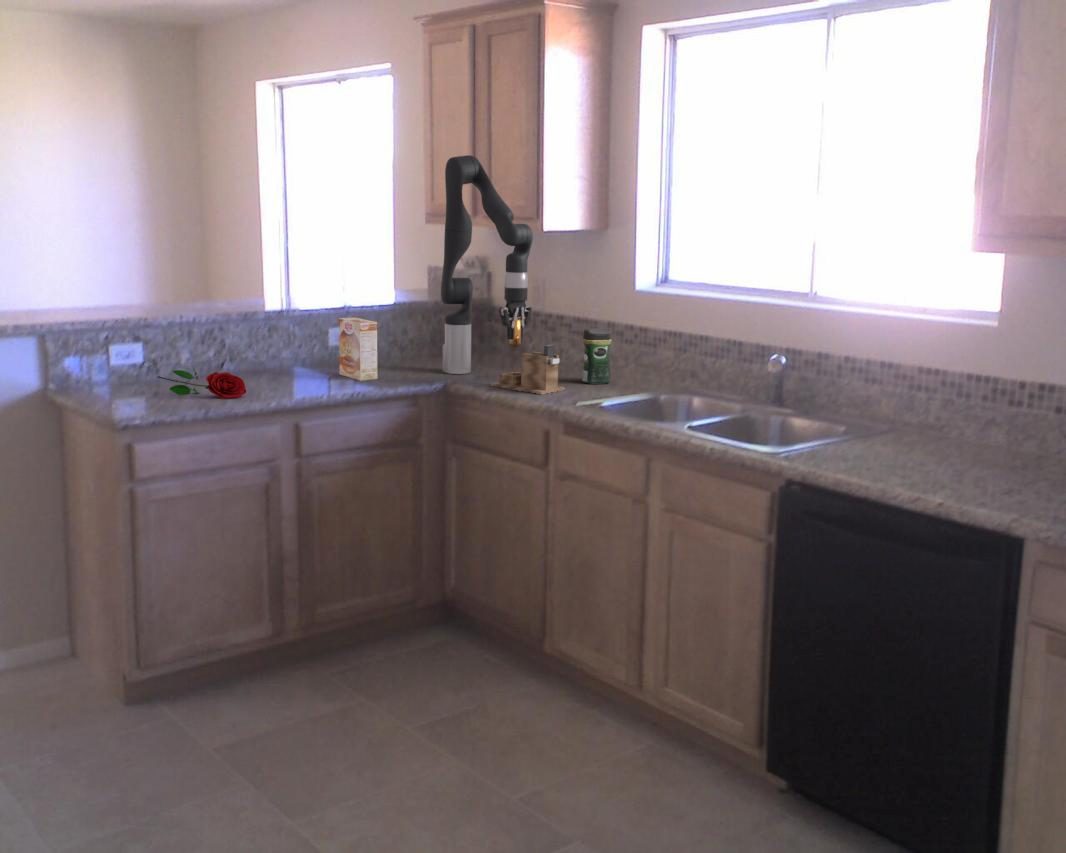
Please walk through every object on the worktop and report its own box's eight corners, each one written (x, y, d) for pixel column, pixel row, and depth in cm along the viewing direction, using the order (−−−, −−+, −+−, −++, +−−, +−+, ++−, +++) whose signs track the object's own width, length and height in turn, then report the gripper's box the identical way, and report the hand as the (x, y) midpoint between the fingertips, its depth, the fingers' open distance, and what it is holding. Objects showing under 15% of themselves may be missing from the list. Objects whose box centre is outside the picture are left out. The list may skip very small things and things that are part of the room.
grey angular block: (524, 359, 368) (524, 342, 367) (531, 358, 370) (531, 341, 369) (552, 364, 360) (553, 346, 359) (559, 363, 363) (559, 345, 362)
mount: (491, 386, 373) (491, 350, 371) (515, 382, 382) (515, 347, 380) (540, 394, 360) (541, 357, 357) (564, 390, 369) (565, 354, 366)
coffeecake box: (338, 374, 389) (338, 317, 385) (357, 372, 393) (356, 316, 389) (359, 380, 377) (359, 322, 373) (378, 379, 382) (378, 321, 378)
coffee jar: (605, 380, 390) (607, 326, 386) (613, 384, 383) (615, 329, 379) (578, 380, 388) (580, 326, 384) (585, 384, 380) (587, 329, 376)
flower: (152, 357, 344) (243, 370, 339) (165, 367, 353) (254, 380, 348) (144, 385, 342) (235, 398, 337) (158, 394, 351) (247, 408, 346)
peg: (515, 344, 369) (515, 320, 367) (507, 343, 371) (507, 319, 370) (522, 343, 372) (523, 319, 370) (514, 342, 374) (515, 318, 372)
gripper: (510, 287, 360) (509, 341, 364) (539, 285, 371) (537, 338, 374) (492, 286, 365) (492, 339, 368) (521, 284, 375) (520, 335, 379)
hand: (515, 338), depth 371 cm, fingers closed on peg, 3 cm apart
